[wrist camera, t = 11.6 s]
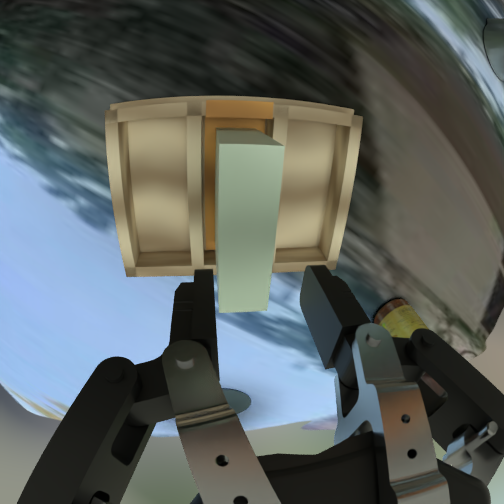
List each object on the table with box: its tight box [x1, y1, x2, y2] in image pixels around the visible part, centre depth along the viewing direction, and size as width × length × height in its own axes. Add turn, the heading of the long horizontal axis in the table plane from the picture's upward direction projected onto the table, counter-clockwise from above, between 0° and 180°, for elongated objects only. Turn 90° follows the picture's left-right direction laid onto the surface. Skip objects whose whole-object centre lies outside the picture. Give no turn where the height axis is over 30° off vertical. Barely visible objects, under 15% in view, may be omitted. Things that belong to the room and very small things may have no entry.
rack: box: [105, 96, 363, 277], centre depth 21 cm, size 15×20×4 cm
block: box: [215, 127, 285, 313], centre depth 18 cm, size 10×3×9 cm, turn 177°
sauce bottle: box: [374, 299, 448, 397], centre depth 27 cm, size 6×6×20 cm
